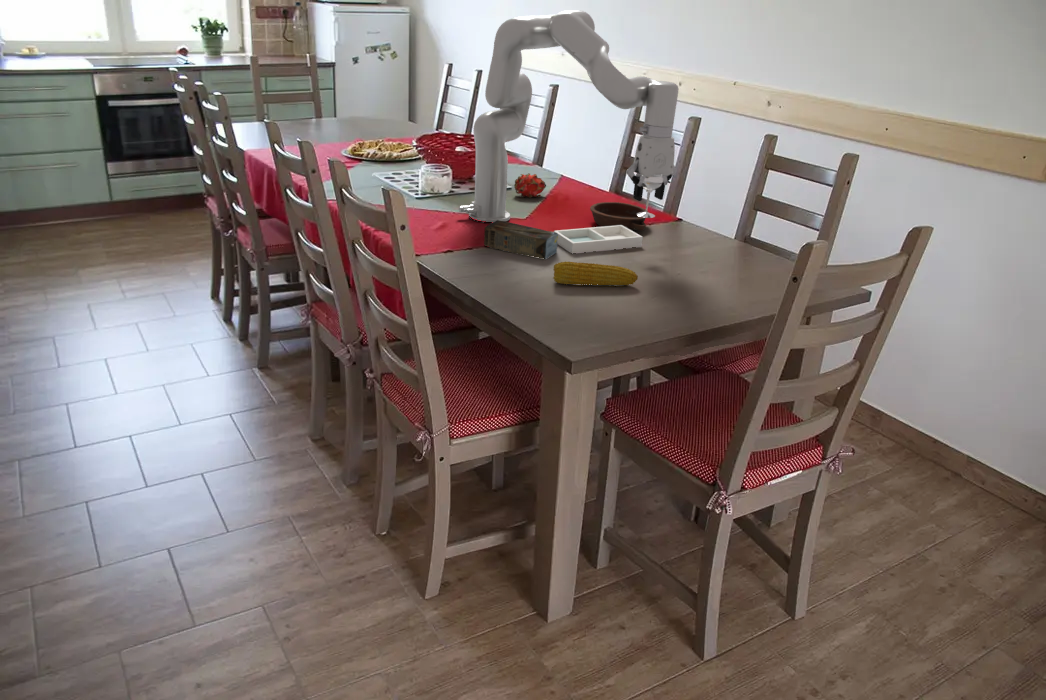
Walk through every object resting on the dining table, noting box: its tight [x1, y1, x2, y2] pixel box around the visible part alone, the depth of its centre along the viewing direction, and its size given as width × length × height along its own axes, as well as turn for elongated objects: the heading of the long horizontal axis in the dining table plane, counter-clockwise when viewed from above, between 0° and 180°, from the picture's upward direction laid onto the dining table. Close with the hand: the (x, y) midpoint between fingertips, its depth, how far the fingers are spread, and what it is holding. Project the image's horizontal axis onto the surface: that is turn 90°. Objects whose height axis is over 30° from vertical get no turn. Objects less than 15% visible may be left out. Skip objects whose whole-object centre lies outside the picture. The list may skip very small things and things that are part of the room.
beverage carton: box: [483, 220, 558, 260], centre depth 226 cm, size 8×19×7 cm, turn 64°
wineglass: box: [637, 174, 664, 219], centre depth 223 cm, size 7×7×12 cm
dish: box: [589, 201, 649, 232], centre depth 254 cm, size 18×22×5 cm
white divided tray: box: [553, 225, 643, 255], centre depth 235 cm, size 22×12×3 cm, turn 115°
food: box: [552, 261, 638, 286], centre depth 205 cm, size 21×6×6 cm, turn 95°
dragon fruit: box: [513, 173, 547, 199], centre depth 277 cm, size 8×8×12 cm
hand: (648, 198), depth 223 cm, fingers closed on wineglass, 6 cm apart
